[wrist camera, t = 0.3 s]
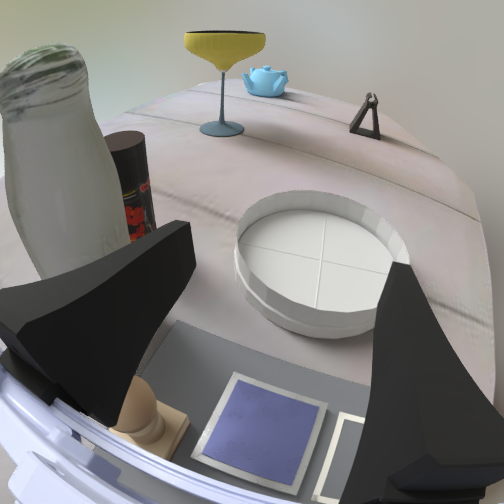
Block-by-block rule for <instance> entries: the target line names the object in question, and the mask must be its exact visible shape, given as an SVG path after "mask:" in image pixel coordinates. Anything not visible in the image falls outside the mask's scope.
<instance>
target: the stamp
mask: <svg viewBox="0 0 504 504" xmlns="http://www.w3.org/2000/svg"><path fill="white" fill-rule="evenodd" d="M190 425H191V423H190V421H189V418H188V416H187V415H186V414H184V413H182V412H180V411H178V410H176V409H174V408H172V407H170V406H168V405H166V404H164V403H162V402H160V401H158V400H156V398H155V395H154V393H153V391H152V390H151V388H150V386H149V385H148V384H147V383H146V382H145V381H144V380H143V379H142V378H140V377H138V376H136V375H134V377H133V379H132V382H131V384H130V387H129V389H128V392H127V395H126V397H125V400H124V403H123V406H122V409H121V412H120V416H119V419H118V422H117V425H116V426H114V427H110V429H109V430H108V431H110V432H112V433H114V434H115V435H117V436H119V437H121V438H123V439H125V440H126V441H128V442H130V443H132V444H134V445H136V446H138V447H140V448H142V449H144V450H146V451H148V452H150V453H152V454H154V455H156V456H158V457H160V458H163V459H165V460H167V461H169V462H170V461H171V460H172V458H173V456H174V454H175V452H176V450H177V449H178V447H179V445H180V443H181V441H182V439H183V438H184V436H185V434H186V432H187V430H188V428H189V427H190Z"/></svg>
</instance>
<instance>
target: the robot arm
mask: <svg viewBox="0 0 504 504" xmlns="http://www.w3.org/2000/svg"><path fill="white" fill-rule="evenodd" d="M195 267H196V259H195V253H194V246H193V240H192V233H191V226H190V222H185V221H180V220H174V221H172V222H170V223H168V224H165V225H163V226H161V227H159V228H158V229H156V230H154V231H152V232H150V233H148V234H146V235H144V236H143V237H141V238H139V239H137V240H135V241H133V242H132V243H130V244H128V245H126V246H124V247H122V248H120V249H118V250H116V251H114V252H112V253H110V254H108V255H106V256H104V257H102V258H100V259H98V260H96V261H94V262H91V263H89V264H87V265H84V266H82V267H80V268H77V269H74V270H72V271H69V272H66V273H63V274H60V275H57V276H55V277H51V278H48V279H45V280H41V281H37V282H33V283H29V284H25V285H20V286H14V287H9V288H3V289H1V290H0V338H1V339H2V341H3V342H4V343H5V345H6V346H7V349H6V350H5V351H3V350H2V349H1V348H0V445H1V446H2V448H3V449H4V450H5V452H6V453H7V454H8V456H9V457H10V458H11V460H12V461H13V462H14V464H15V465H16V466H17V468H16V469H15V471H14V473H13V475H12V476H11V478H10V480H9V481H8V488H9V490H10V492H11V494H12V495H13V496H14V497H15V499H16V501H15V503H14V504H162V503H159V502H157V501H155V500H153V499H151V498H149V497H147V496H145V495H143V494H141V493H139V492H137V491H135V490H133V489H131V488H129V487H128V486H126V485H124V484H122V483H120V482H118V481H117V479H118V477H119V475H120V474H121V472H122V471H121V469H120V468H118V467H117V466H115V465H113V464H112V463H110V462H108V461H107V460H105V459H104V458H102V457H101V456H99V455H98V454H96V453H95V452H93V451H92V450H90V449H89V448H87V447H86V446H84V445H83V444H82V443H81V437H80V436H82V437H83V438H85V439H86V440H88V441H89V442H91V443H93V444H94V445H96V446H97V447H99V448H101V449H102V450H104V451H105V452H107V453H109V454H111V455H112V456H114V457H116V458H117V459H119V460H121V461H123V462H125V463H126V464H128V465H130V466H132V467H134V468H136V469H138V470H139V471H141V472H143V473H145V474H147V475H149V476H151V477H153V478H155V479H158V480H160V481H162V482H164V483H166V484H168V485H171V486H173V487H175V488H177V489H180V490H182V491H184V492H187V493H189V494H192V495H194V496H197V497H199V498H202V499H205V500H207V501H210V502H213V503H216V504H300V503H295V502H291V501H286V500H282V499H278V498H274V497H270V496H266V495H262V494H258V493H255V492H251V491H248V490H245V489H241V488H238V487H235V486H232V485H229V484H226V483H223V482H220V481H217V480H214V479H211V478H209V477H206V476H203V475H201V474H198V473H196V472H193V471H191V470H188V469H186V468H183V467H181V466H178V465H176V464H174V463H172V462H169V461H167V460H165V459H163V458H160V457H158V456H156V455H154V454H152V453H150V452H148V451H146V450H144V449H142V448H140V447H138V446H136V445H134V444H132V443H130V442H128V441H126V440H125V439H123V438H121V437H119V436H117V435H115V434H114V433H112V432H110V431H108V430H107V429H105V428H103V427H102V426H100V425H98V424H97V423H95V422H93V421H92V420H90V419H89V418H87V417H85V416H84V415H82V414H81V413H83V414H85V415H86V416H89V417H91V418H93V419H94V420H96V421H98V422H99V423H101V424H103V425H104V426H106V427H109V428H110V427H114V426H116V425H117V422H118V419H119V416H120V412H121V409H122V406H123V403H124V400H125V397H126V395H127V392H128V389H129V387H130V384H131V382H132V379H133V377H134V375H135V372H136V370H137V368H138V366H139V363H140V361H141V359H142V357H143V355H144V353H145V351H146V349H147V347H148V345H149V343H150V341H151V339H152V337H153V336H154V334H155V332H156V331H157V329H158V328H159V326H160V325H161V323H162V322H163V320H164V319H165V317H166V316H167V314H168V313H169V311H170V310H171V308H172V307H173V305H174V304H175V302H176V301H177V300H178V298H179V297H180V295H181V294H182V292H183V290H184V289H185V287H186V286H187V284H188V282H189V280H190V278H191V276H192V274H193V271H194V269H195ZM79 412H81V413H79ZM502 479H504V418H503V417H502V416H501V415H500V414H499V413H498V411H497V410H496V409H495V408H494V406H493V405H492V404H491V403H490V401H489V400H488V399H487V398H486V396H485V395H484V394H483V392H482V391H481V390H480V389H479V387H478V386H477V384H476V383H475V381H474V380H473V379H472V377H471V376H470V374H469V373H468V372H467V370H466V369H465V367H464V366H463V364H462V363H461V361H460V359H459V358H458V356H457V354H456V353H455V351H454V350H453V348H452V346H451V345H450V343H449V341H448V340H447V338H446V336H445V334H444V332H443V330H442V329H441V327H440V325H439V323H438V321H437V319H436V317H435V315H434V313H433V311H432V309H431V307H430V305H429V303H428V301H427V299H426V297H425V295H424V293H423V291H422V289H421V287H420V284H419V282H418V280H417V278H416V276H415V274H414V272H413V270H412V268H411V266H410V265H409V264H404V263H400V262H395V261H393V262H392V265H391V268H390V271H389V274H388V276H387V279H386V282H385V285H384V288H383V291H382V293H381V296H380V299H379V301H378V304H377V311H376V318H375V326H374V339H373V361H372V378H371V390H370V397H369V403H368V408H367V412H366V417H365V421H364V426H363V430H362V434H361V438H360V441H359V445H358V449H357V452H356V455H355V459H354V462H353V465H352V468H351V471H350V474H349V477H348V480H347V482H346V485H345V488H344V491H343V493H342V496H341V498H340V501H339V503H338V504H479V500H480V499H483V498H484V497H485V490H486V487H487V486H489V485H491V484H494V483H496V482H498V481H500V480H502ZM500 504H504V503H500Z"/></svg>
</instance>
